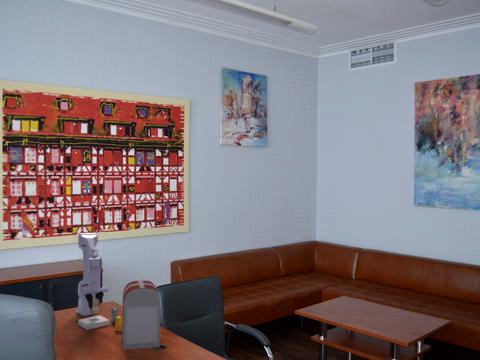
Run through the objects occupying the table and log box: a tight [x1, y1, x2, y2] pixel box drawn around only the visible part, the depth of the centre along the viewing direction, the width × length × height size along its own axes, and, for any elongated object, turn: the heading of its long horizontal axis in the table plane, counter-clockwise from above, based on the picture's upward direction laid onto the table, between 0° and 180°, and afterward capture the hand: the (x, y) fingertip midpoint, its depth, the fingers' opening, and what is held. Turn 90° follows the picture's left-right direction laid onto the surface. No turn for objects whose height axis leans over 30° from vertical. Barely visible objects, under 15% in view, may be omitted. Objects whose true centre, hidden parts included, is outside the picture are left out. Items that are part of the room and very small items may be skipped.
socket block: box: [77, 315, 110, 331], centre depth 243 cm, size 10×12×2 cm
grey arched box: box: [121, 279, 161, 351], centre depth 221 cm, size 17×18×27 cm
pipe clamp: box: [114, 315, 122, 332], centre depth 235 cm, size 12×4×6 cm, turn 65°
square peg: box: [90, 297, 100, 315], centre depth 242 cm, size 3×3×7 cm
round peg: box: [110, 307, 119, 324], centre depth 247 cm, size 3×3×7 cm
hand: (94, 307), depth 242 cm, fingers closed on square peg, 3 cm apart
